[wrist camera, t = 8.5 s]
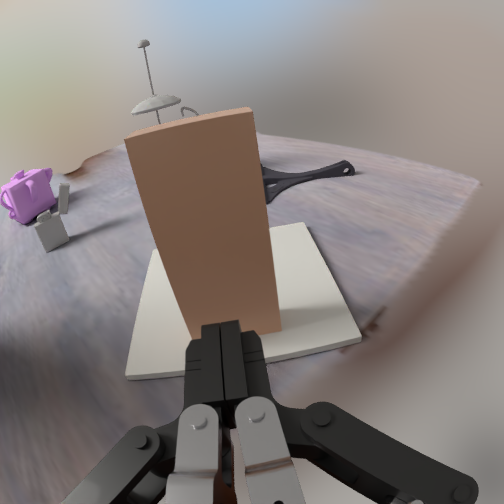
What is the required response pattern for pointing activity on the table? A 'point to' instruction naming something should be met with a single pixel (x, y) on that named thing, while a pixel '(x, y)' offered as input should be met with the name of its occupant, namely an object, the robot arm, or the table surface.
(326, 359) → the table surface
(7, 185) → the teapot
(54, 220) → the lighter
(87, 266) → the table surface
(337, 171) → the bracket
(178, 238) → the tile
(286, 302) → the mat
